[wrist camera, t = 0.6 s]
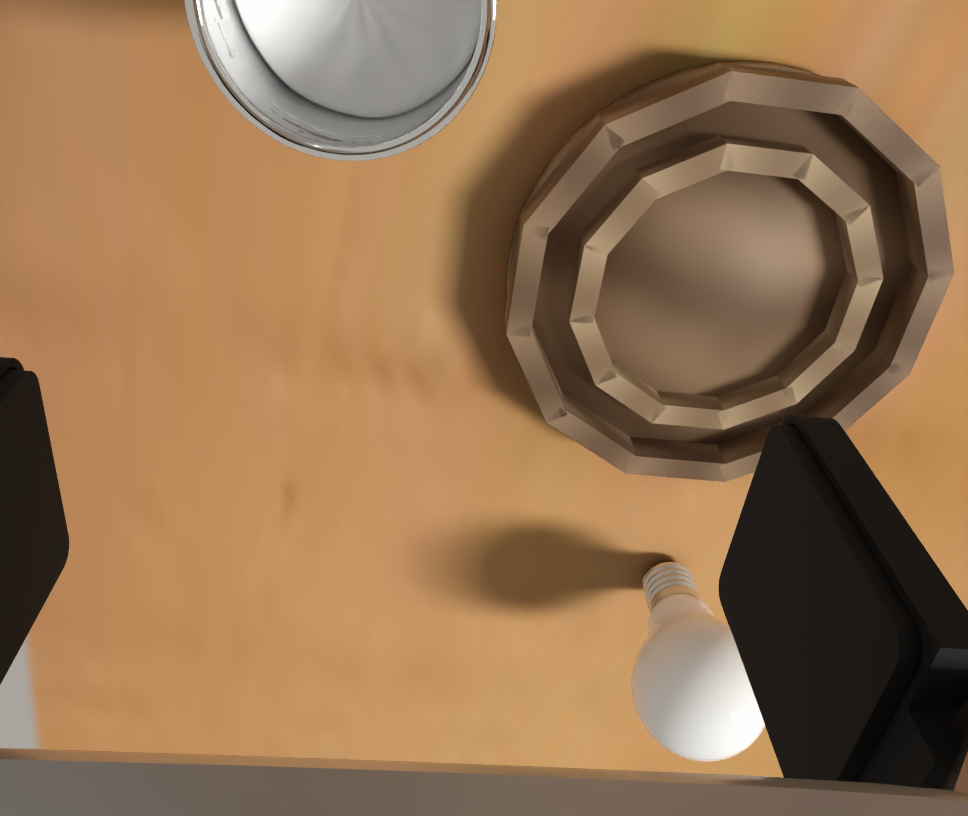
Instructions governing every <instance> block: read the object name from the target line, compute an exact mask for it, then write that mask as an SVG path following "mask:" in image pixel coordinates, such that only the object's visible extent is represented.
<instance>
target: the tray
mask: <svg viewBox="0 0 968 816" xmlns="http://www.w3.org/2000/svg"><path fill="white" fill-rule="evenodd" d="M953 275H954V268H953V261H952V254H951V246H950V239H949V232H948V224H947V217H946V210H945V203H944V195H943V188H942V181H941V173H940V166H939V165H938V164H937V163H936V162H935V161H934V160H933V159H932V158H931V157H929V156H928V155H927V154H926V153H925V152H924V151H923V150H922V149H921V148H920V147H919V146H918V145H917V144H916V143H915V142H914V141H913V140H912V139H911V138H910V137H909V136H908V135H907V134H906V133H905V132H904V131H903V130H902V129H901V128H900V127H898V126H897V125H896V124H895V123H894V122H893V121H892V120H891V119H890V118H889V117H888V116H887V115H886V114H885V113H884V112H883V111H882V110H881V109H880V108H879V107H878V106H877V105H876V104H875V103H874V102H873V101H872V100H871V99H870V98H869V97H867V96H866V95H865V94H864V93H863V92H862V91H861V90H860V89H859V88H858V87H856V86H855V85H853V84H851V83H849V82H847V81H845V80H843V79H840V78H833V77H825V76H820V75H817V74H815V73H812V72H809V71H807V70H804V69H801V68H796V67H791V66H786V65H782V64H777V63H769V62H753V61H736V62H724V63H720V62H719V63H712V64H707V65H703V66H698V67H694V68H689V69H684V70H681V71H678V72H675V73H672V74H669V75H667V76H664V77H661V78H658V79H655V80H653V81H650V82H649V83H647V84H645V85H643V86H641V87H639V88H637V89H635V90H633V91H631V92H629V93H627V94H625V95H623V96H622V97H620V98H619V99H617V100H616V101H614V102H613V103H611V104H610V105H608V106H607V107H605V108H604V109H602V110H601V111H599V112H598V113H597V114H595V115H594V116H593V117H592V118H591V119H590V120H589V121H587V122H586V123H585V124H584V125H583V126H582V127H581V128H579V129H578V130H577V131H576V132H575V133H574V134H573V135H572V136H571V137H570V138H569V139H568V140H567V142H566V143H565V144H564V145H563V146H562V147H561V148H560V149H559V150H558V152H557V153H556V154H555V155H554V156H553V158H552V159H551V160H550V162H549V163H548V165H547V166H546V168H545V169H544V170H543V172H542V173H541V175H540V176H539V178H538V179H537V181H536V183H535V184H534V186H533V188H532V190H531V192H530V194H529V196H528V198H527V200H526V202H525V204H524V206H523V208H522V210H521V212H520V217H519V219H518V222H517V225H516V227H515V230H514V234H513V238H512V243H511V247H510V252H509V256H508V268H507V280H506V286H507V303H506V309H505V316H504V321H505V329H506V335H507V337H508V339H509V341H510V344H511V346H512V348H513V350H514V352H515V355H516V357H517V359H518V361H519V363H520V366H521V368H522V370H523V372H524V374H525V377H526V379H527V381H528V383H529V385H530V388H531V390H532V392H533V394H534V396H535V399H536V401H537V403H538V405H539V407H540V410H541V412H542V414H543V416H544V418H545V421H546V423H548V424H550V425H551V426H553V427H554V428H556V429H557V430H559V431H560V432H562V433H564V434H565V435H567V436H568V437H570V438H571V439H573V440H574V441H576V442H578V443H579V444H581V445H582V446H584V447H585V448H587V449H588V450H590V451H592V452H593V453H595V454H596V455H598V456H599V457H601V458H603V459H604V460H606V461H607V462H609V463H610V464H612V465H613V466H615V467H617V468H618V469H620V470H621V471H623V472H624V473H626V474H638V475H650V476H662V477H674V478H686V479H698V480H710V481H721V482H726V481H729V480H732V479H735V478H738V477H741V476H744V475H747V474H750V473H753V472H755V470H756V467H757V464H758V461H759V458H760V455H761V452H762V449H763V446H764V443H765V440H766V437H767V435H768V432H769V430H770V429H771V428H772V426H774V425H782V424H783V422H784V421H785V419H786V418H787V417H789V416H791V415H795V416H809V417H822V418H832V419H835V420H836V421H837V422H838V423H839V424H840V425H841V427H842V428H843V430H844V431H846V430H847V429H848V428H849V427H850V426H851V425H852V424H854V423H855V422H856V421H857V420H858V419H859V418H860V417H862V416H863V415H864V414H865V413H866V412H867V411H868V410H869V409H871V408H872V407H873V406H874V405H875V404H876V403H877V402H879V401H880V400H881V399H882V398H883V397H884V396H885V395H887V394H888V393H889V392H890V391H891V390H892V389H893V388H895V387H896V386H897V385H898V384H899V383H900V382H901V381H903V380H904V379H905V378H906V377H907V376H908V375H910V372H911V370H912V368H913V366H914V363H915V361H916V359H917V356H918V354H919V352H920V350H921V347H922V345H923V343H924V341H925V338H926V336H927V334H928V331H929V329H930V327H931V325H932V322H933V320H934V318H935V316H936V313H937V311H938V309H939V307H940V304H941V302H942V300H943V297H944V295H945V293H946V291H947V288H948V286H949V284H950V282H951V279H952V277H953Z"/></svg>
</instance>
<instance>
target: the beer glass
mask: <svg viewBox="0 0 968 816" xmlns="http://www.w3.org/2000/svg"><path fill="white" fill-rule="evenodd" d="M184 3H185V9H186V14H187V19H188V23H189V27H190V30H191V34H192V37H193V40H194V42H195V45H196V48H197V50H198V52H199V55H200V57H201V59H202V61H203V63H204V65H205V67H206V69H207V71H208V72H209V74H210V76H211V78H212V79H213V81H214V82H215V84H216V85H217V87H218V88H219V89H220V91H221V92H222V93H223V95H224V96H225V97H226V98H227V100H228V101H229V102H230V103H231V104H232V105H233V107H234V108H235V109H236V110H237V111H238V112H239V113H240V114H241V115H242V116H243V117H245V118H246V119H247V120H248V121H249V122H250V123H251V124H253V125H254V126H255V127H256V128H258V129H259V130H260V131H262V132H263V133H265V134H266V135H268V136H269V137H271V138H272V139H274V140H276V141H278V142H279V143H281V144H283V145H285V146H287V147H290V148H292V149H294V150H296V151H299V152H302V153H305V154H308V155H311V156H314V157H318V158H323V159H328V160H335V161H347V162H357V161H370V160H377V159H382V158H386V157H390V156H394V155H397V154H400V153H403V152H405V151H407V150H410V149H412V148H414V147H416V146H418V145H420V144H422V143H423V142H425V141H427V140H428V139H430V138H431V137H433V136H434V135H435V134H437V133H438V132H439V131H441V130H442V129H443V128H444V127H445V126H446V125H448V124H449V123H450V122H451V121H452V120H453V119H454V118H455V117H456V115H457V114H458V113H459V112H460V111H461V110H462V108H463V107H464V106H465V105H466V103H467V102H468V100H469V99H470V97H471V96H472V94H473V93H474V91H475V89H476V88H477V86H478V84H479V82H480V80H481V78H482V76H483V73H484V71H485V69H486V66H487V63H488V60H489V57H490V54H491V50H492V47H493V42H494V37H495V31H496V24H497V13H498V4H499V0H184Z"/></svg>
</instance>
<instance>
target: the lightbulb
mask: <svg viewBox="0 0 968 816" xmlns="http://www.w3.org/2000/svg"><path fill="white" fill-rule="evenodd" d="M643 589H644V592H645V596H646V599H647V603H648V608H649V611H650V616H649V620H648V637H647V638H646V640H645V642H644V643H643V645H642V647H641V648H640V650H639V652H638V654H637V657H636V659H635V662H634V666H633V670H632V676H631V692H632V699H633V703H634V706H635V710H636V712H637V715H638V717H639V719H640V721H641V722H642V724H643V726H644V727H645V729H646V730H647V732H648V733H649V734H650V735H651V736H652V737H653V739H654V740H656V741H657V742H658V743H659V744H660V745H661V746H663V747H664V748H665V749H667V750H668V751H670V752H672V753H674V754H676V755H678V756H680V757H683V758H686V759H690V760H694V761H703V762H711V761H719V760H724V759H727V758H730V757H733V756H735V755H737V754H739V753H741V752H742V751H744V750H745V749H746V748H748V747H749V746H750V745H751V744H752V743H753V742H754V741H755V740H756V739H757V738H758V737H759V735H760V734H761V732H762V731H763V729H764V727H765V723H764V721H763V718H762V715H761V712H760V710H759V707H758V704H757V701H756V698H755V696H754V693H753V690H752V687H751V685H750V682H749V679H748V676H747V674H746V671H745V668H744V665H743V663H742V660H741V657H740V654H739V652H738V649H737V646H736V643H735V641H734V638H733V635H732V632H731V630H730V627H729V625H728V624H726V623H724V622H722V621H720V620H718V619H716V618H715V616H714V615H713V613H712V612H711V610H710V609H709V608H708V606H707V605H706V604H705V603H704V602H702V601H701V599H700V596H699V594H698V590H697V588H696V585H695V582H694V579H693V576H692V573H691V571H690V570H689V568H688V567H686V566H685V565H683V564H681V563H677V562H664V563H660V564H658V565H656V566H654V567H652V568H651V569H650V570H649V571H648V572H647V573H646V574H645V576H644V578H643Z"/></svg>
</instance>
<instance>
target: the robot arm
mask: <svg viewBox="0 0 968 816" xmlns="http://www.w3.org/2000/svg"><path fill="white" fill-rule="evenodd" d="M68 551H69V536H68V531H67V525H66V520H65V515H64V510H63V505H62V499H61V494H60V489H59V484H58V479H57V474H56V468H55V463H54V458H53V453H52V448H51V443H50V437H49V432H48V427H47V422H46V417H45V412H44V406H43V401H42V396H41V391H40V386H39V382H38V378H37V376H36V375H35V373H34V372H32V371H24V369H23V366H22V365H21V363H20V361H18V360H17V359H15V358H4V357H0V684H1V682H2V680H3V679H4V677H5V675H6V673H7V671H8V669H9V667H10V666H11V664H12V662H13V660H14V658H15V656H16V655H17V653H18V651H19V649H20V647H21V646H22V644H23V642H24V640H25V638H26V636H27V634H28V633H29V631H30V629H31V627H32V625H33V623H34V622H35V620H36V618H37V616H38V614H39V612H40V611H41V609H42V607H43V605H44V603H45V601H46V599H47V598H48V596H49V594H50V592H51V590H52V588H53V587H54V585H55V583H56V581H57V579H58V577H59V575H60V574H61V572H62V570H63V568H64V566H65V563H66V560H67V557H68ZM719 597H720V601H721V605H722V607H723V610H724V613H725V616H726V619H727V621H728V624H729V627H730V630H731V632H732V635H733V638H734V641H735V643H736V646H737V649H738V652H739V654H740V657H741V660H742V663H743V665H744V668H745V671H746V674H747V676H748V679H749V682H750V685H751V687H752V690H753V693H754V696H755V698H756V701H757V704H758V707H759V710H760V712H761V715H762V718H763V721H764V723H765V726H766V729H767V732H768V734H769V737H770V740H771V743H772V745H773V748H774V751H775V754H776V756H777V759H778V762H779V765H780V767H781V770H782V773H783V776H784V778H778V777H761V776H745V775H721V774H698V773H675V772H651V771H628V770H604V769H581V768H558V767H534V766H508V765H482V764H456V763H430V762H403V761H376V760H348V759H321V758H293V757H266V756H235V755H204V754H172V753H141V752H109V751H78V750H46V749H4V748H3V749H1V748H0V816H968V610H967V609H966V608H965V606H964V605H963V603H962V602H961V600H960V599H959V597H958V596H957V594H956V593H955V591H954V590H953V589H952V587H951V586H950V584H949V583H948V581H947V580H946V578H945V577H944V575H943V574H942V573H941V571H940V570H939V568H938V567H937V565H936V564H935V562H934V561H933V559H932V558H931V556H930V555H929V554H928V552H927V551H926V549H925V548H924V546H923V545H922V543H921V542H920V540H919V539H918V538H917V536H916V535H915V533H914V532H913V530H912V529H911V527H910V526H909V524H908V523H907V521H906V520H905V519H904V517H903V516H902V514H901V513H900V511H899V510H898V508H897V507H896V505H895V504H894V503H893V501H892V500H891V498H890V497H889V495H888V494H887V492H886V491H885V489H884V488H883V486H882V485H881V484H880V482H879V481H878V479H877V478H876V476H875V475H874V473H873V472H872V470H871V469H870V468H869V466H868V465H867V463H866V462H865V460H864V459H863V457H862V456H861V454H860V453H859V451H858V450H857V449H856V447H855V446H854V444H853V443H852V441H851V440H850V438H849V437H848V435H847V434H846V433H845V431H844V430H843V428H842V427H841V425H840V424H839V423H838V422H837V421H836V420H835V419H832V418H822V417H809V416H795V415H791V416H789V417H787V418H786V419H785V421H784V422H783V424H782V425H774V426H772V428H771V429H770V430H769V432H768V435H767V437H766V440H765V443H764V446H763V449H762V452H761V455H760V458H759V461H758V464H757V467H756V470H755V473H754V476H753V479H752V482H751V485H750V488H749V491H748V494H747V497H746V500H745V503H744V506H743V509H742V512H741V515H740V518H739V521H738V524H737V527H736V530H735V533H734V536H733V538H732V541H731V544H730V547H729V550H728V553H727V556H726V559H725V562H724V565H723V568H722V571H721V575H720V579H719Z"/></svg>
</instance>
